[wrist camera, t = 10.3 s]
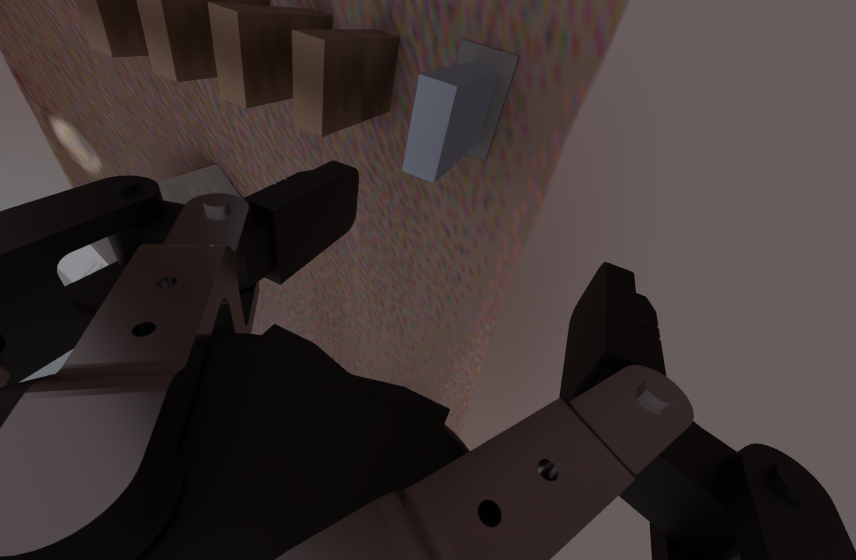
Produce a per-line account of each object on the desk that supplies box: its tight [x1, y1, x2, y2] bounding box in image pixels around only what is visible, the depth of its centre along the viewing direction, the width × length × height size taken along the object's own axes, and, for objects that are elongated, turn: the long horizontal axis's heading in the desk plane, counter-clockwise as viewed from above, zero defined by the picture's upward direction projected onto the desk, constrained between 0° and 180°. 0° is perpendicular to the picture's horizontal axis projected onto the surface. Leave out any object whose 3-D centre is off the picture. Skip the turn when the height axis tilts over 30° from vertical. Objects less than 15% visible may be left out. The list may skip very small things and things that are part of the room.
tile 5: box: [75, 0, 149, 57], centre depth 27 cm, size 5×2×9 cm, turn 167°
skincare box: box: [57, 164, 242, 282], centre depth 36 cm, size 8×6×15 cm
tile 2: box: [292, 30, 400, 137], centre depth 24 cm, size 5×2×9 cm, turn 167°
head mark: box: [456, 39, 519, 161], centre depth 26 cm, size 7×4×1 cm, turn 167°
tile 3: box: [208, 2, 333, 108], centre depth 25 cm, size 5×2×9 cm, turn 167°
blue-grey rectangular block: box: [402, 62, 499, 183], centre depth 23 cm, size 5×2×9 cm, turn 167°
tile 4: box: [136, 0, 270, 82], centre depth 26 cm, size 5×2×9 cm, turn 167°
